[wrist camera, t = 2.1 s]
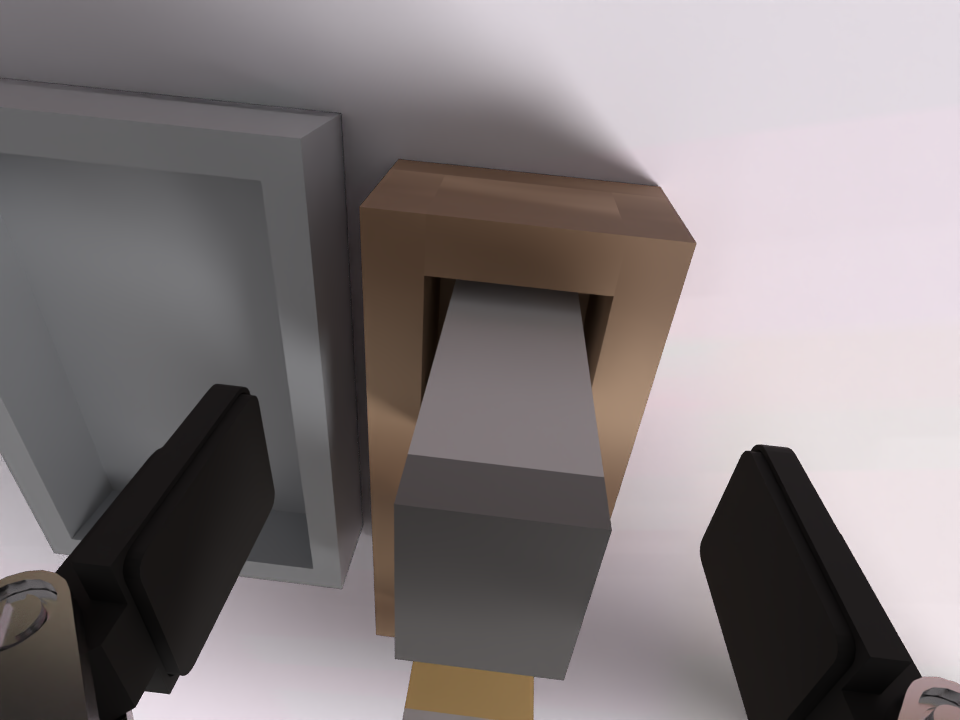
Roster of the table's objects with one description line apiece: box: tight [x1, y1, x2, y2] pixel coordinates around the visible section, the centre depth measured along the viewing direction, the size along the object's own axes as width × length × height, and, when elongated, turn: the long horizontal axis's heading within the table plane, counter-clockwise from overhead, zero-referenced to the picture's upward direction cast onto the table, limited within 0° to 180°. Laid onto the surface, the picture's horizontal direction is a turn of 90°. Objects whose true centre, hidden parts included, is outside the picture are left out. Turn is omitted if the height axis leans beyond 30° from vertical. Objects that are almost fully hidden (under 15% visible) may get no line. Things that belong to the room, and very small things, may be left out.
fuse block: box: [359, 159, 696, 637], centre depth 18 cm, size 16×7×4 cm, turn 175°
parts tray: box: [0, 78, 363, 589], centre depth 18 cm, size 16×11×3 cm
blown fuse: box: [394, 279, 612, 680], centre depth 12 cm, size 4×3×9 cm
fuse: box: [402, 661, 534, 720], centre depth 17 cm, size 4×3×9 cm
